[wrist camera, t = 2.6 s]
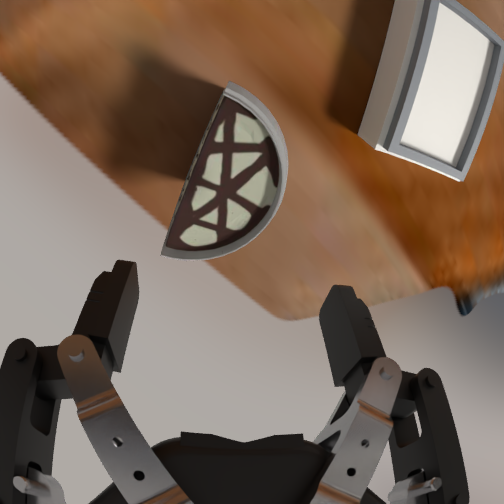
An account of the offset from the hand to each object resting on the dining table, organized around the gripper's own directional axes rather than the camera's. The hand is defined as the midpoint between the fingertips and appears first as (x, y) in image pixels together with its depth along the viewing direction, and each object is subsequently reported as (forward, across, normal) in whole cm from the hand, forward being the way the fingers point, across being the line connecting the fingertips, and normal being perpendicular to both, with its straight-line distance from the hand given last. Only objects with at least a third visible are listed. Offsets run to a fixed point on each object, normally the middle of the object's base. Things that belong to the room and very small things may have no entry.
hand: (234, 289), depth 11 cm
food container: (+17, 0, 0) cm, 17 cm away
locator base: (+17, -16, -12) cm, 26 cm away
